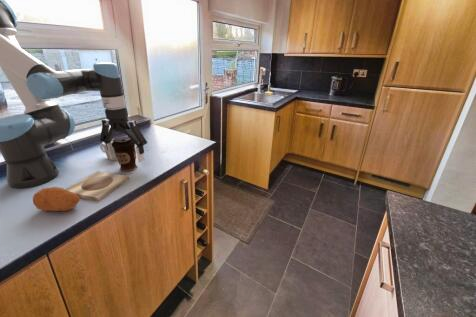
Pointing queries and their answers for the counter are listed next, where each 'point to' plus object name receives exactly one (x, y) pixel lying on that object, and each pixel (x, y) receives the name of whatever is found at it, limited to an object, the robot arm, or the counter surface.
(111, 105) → the robot arm
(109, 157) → the cup
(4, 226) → the counter surface
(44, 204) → the potato
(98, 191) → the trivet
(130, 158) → the coffee cup
